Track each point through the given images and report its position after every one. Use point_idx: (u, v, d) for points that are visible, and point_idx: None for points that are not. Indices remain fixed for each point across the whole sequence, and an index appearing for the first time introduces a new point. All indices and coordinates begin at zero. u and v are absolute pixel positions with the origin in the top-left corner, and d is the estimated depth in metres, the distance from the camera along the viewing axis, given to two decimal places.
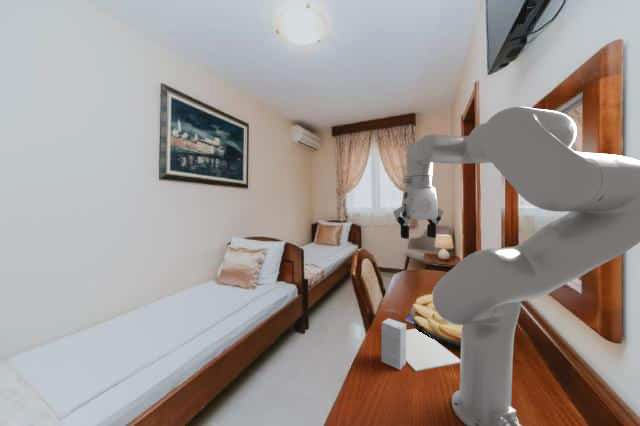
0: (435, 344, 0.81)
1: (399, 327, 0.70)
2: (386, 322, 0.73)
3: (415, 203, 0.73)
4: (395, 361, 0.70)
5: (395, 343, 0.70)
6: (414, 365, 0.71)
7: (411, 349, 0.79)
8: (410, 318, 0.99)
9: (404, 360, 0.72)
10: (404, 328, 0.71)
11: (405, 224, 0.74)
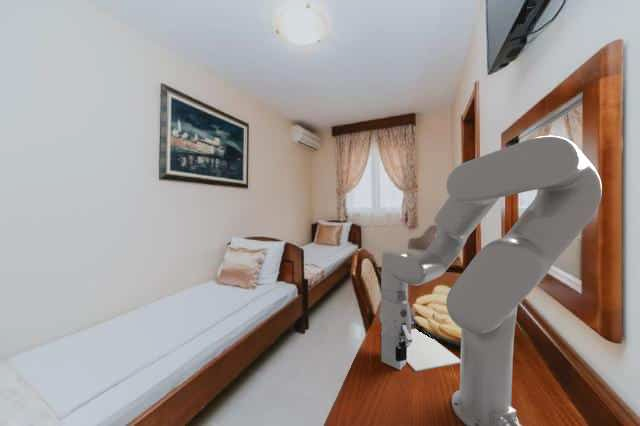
0: (435, 344, 0.81)
1: None
2: None
3: None
4: (395, 361, 0.70)
5: (395, 343, 0.70)
6: (414, 365, 0.71)
7: (411, 349, 0.79)
8: None
9: (404, 360, 0.72)
10: None
11: None
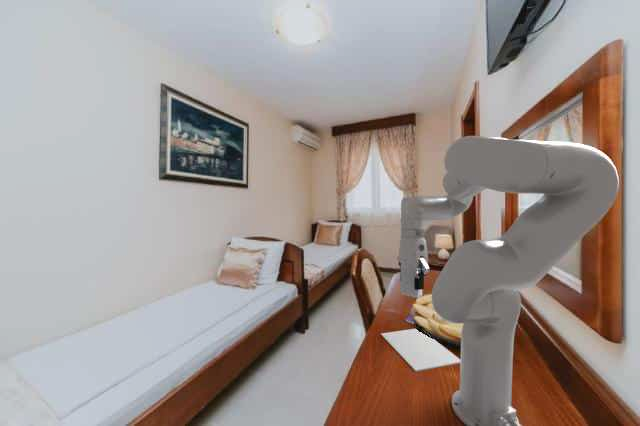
0: (435, 344, 0.81)
1: None
2: None
3: None
4: (413, 291, 0.81)
5: (413, 275, 0.81)
6: (414, 365, 0.71)
7: (411, 349, 0.79)
8: (410, 318, 0.98)
9: (421, 291, 0.82)
10: None
11: None
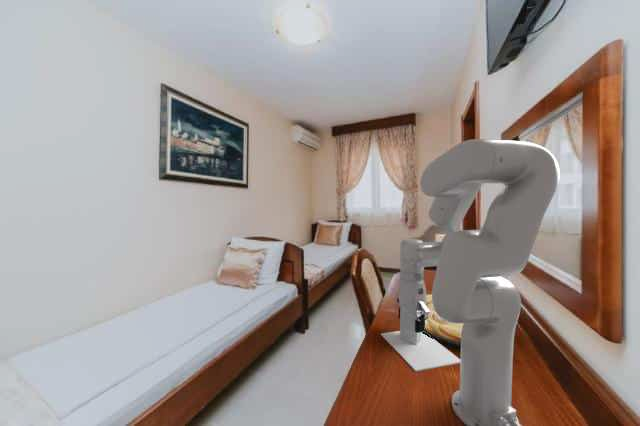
0: (435, 344, 0.81)
1: None
2: None
3: None
4: (412, 337, 0.82)
5: (412, 322, 0.82)
6: (414, 365, 0.71)
7: (411, 349, 0.79)
8: None
9: (420, 337, 0.83)
10: None
11: None
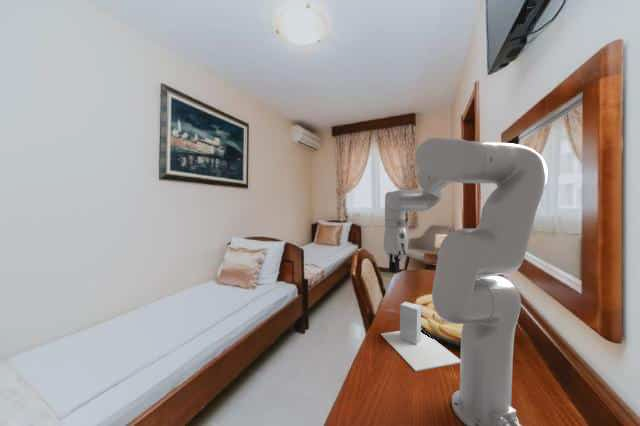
0: (435, 344, 0.81)
1: (415, 308, 0.82)
2: (404, 304, 0.85)
3: None
4: (412, 337, 0.82)
5: (412, 322, 0.82)
6: (414, 365, 0.71)
7: (411, 349, 0.79)
8: None
9: (420, 337, 0.83)
10: (420, 309, 0.83)
11: None
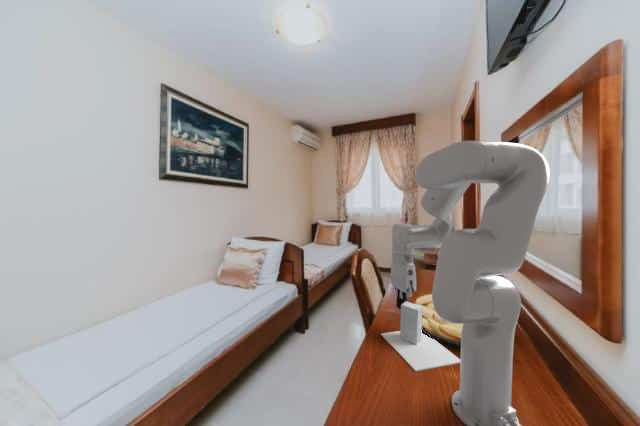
0: (435, 344, 0.81)
1: (416, 308, 0.81)
2: (405, 304, 0.84)
3: None
4: (412, 337, 0.82)
5: (413, 322, 0.82)
6: (414, 365, 0.71)
7: (411, 349, 0.79)
8: None
9: (420, 337, 0.83)
10: (421, 309, 0.83)
11: None
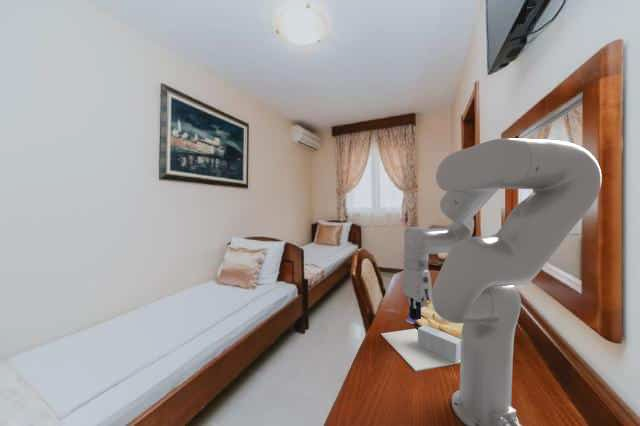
0: None
1: (456, 360, 0.72)
2: (457, 347, 0.72)
3: None
4: (423, 344, 0.79)
5: (439, 351, 0.75)
6: (414, 365, 0.71)
7: (411, 349, 0.79)
8: (410, 319, 0.98)
9: None
10: None
11: None
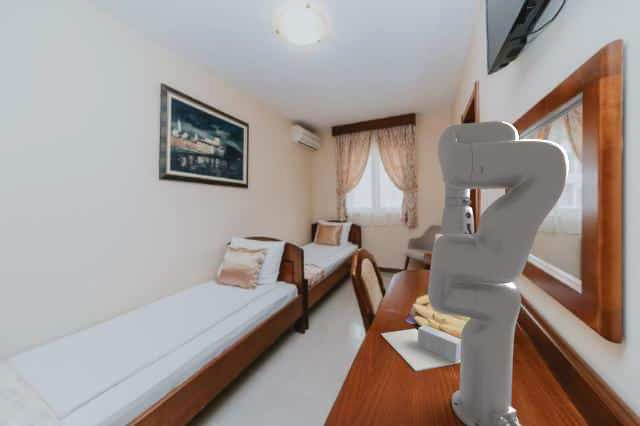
0: None
1: (456, 360, 0.72)
2: (457, 346, 0.72)
3: None
4: (423, 344, 0.79)
5: (439, 351, 0.75)
6: (414, 365, 0.71)
7: (411, 349, 0.79)
8: (411, 319, 0.98)
9: None
10: None
11: None
